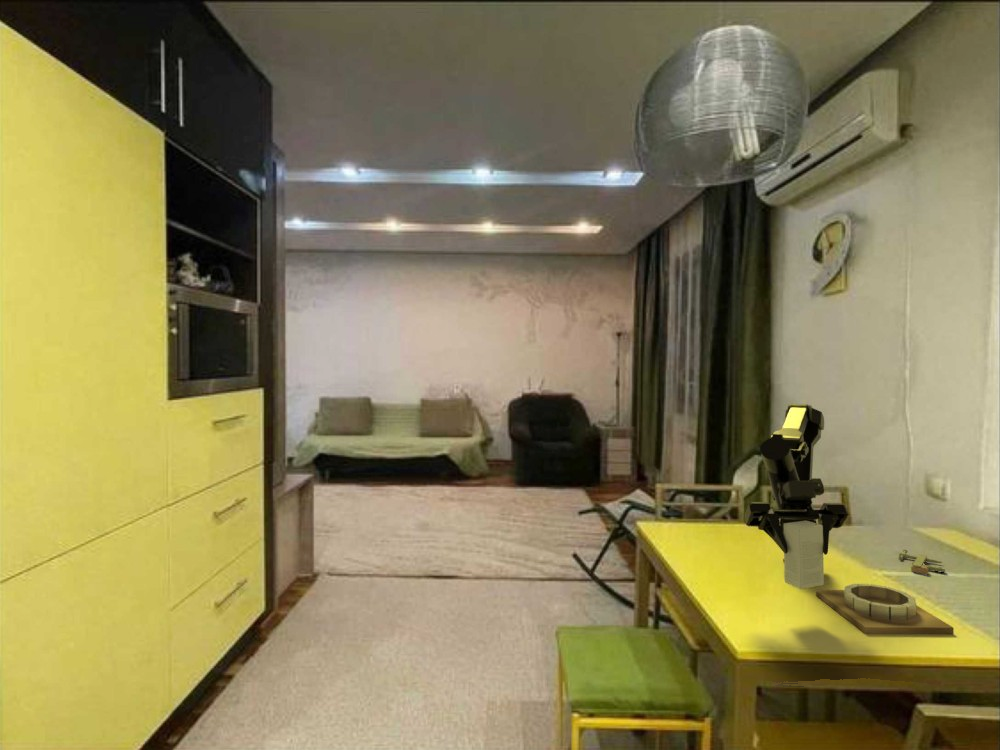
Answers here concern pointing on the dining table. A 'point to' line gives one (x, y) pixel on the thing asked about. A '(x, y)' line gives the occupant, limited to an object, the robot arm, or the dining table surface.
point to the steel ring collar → (877, 610)
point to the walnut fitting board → (872, 625)
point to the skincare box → (804, 554)
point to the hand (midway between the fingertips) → (806, 553)
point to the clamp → (921, 563)
